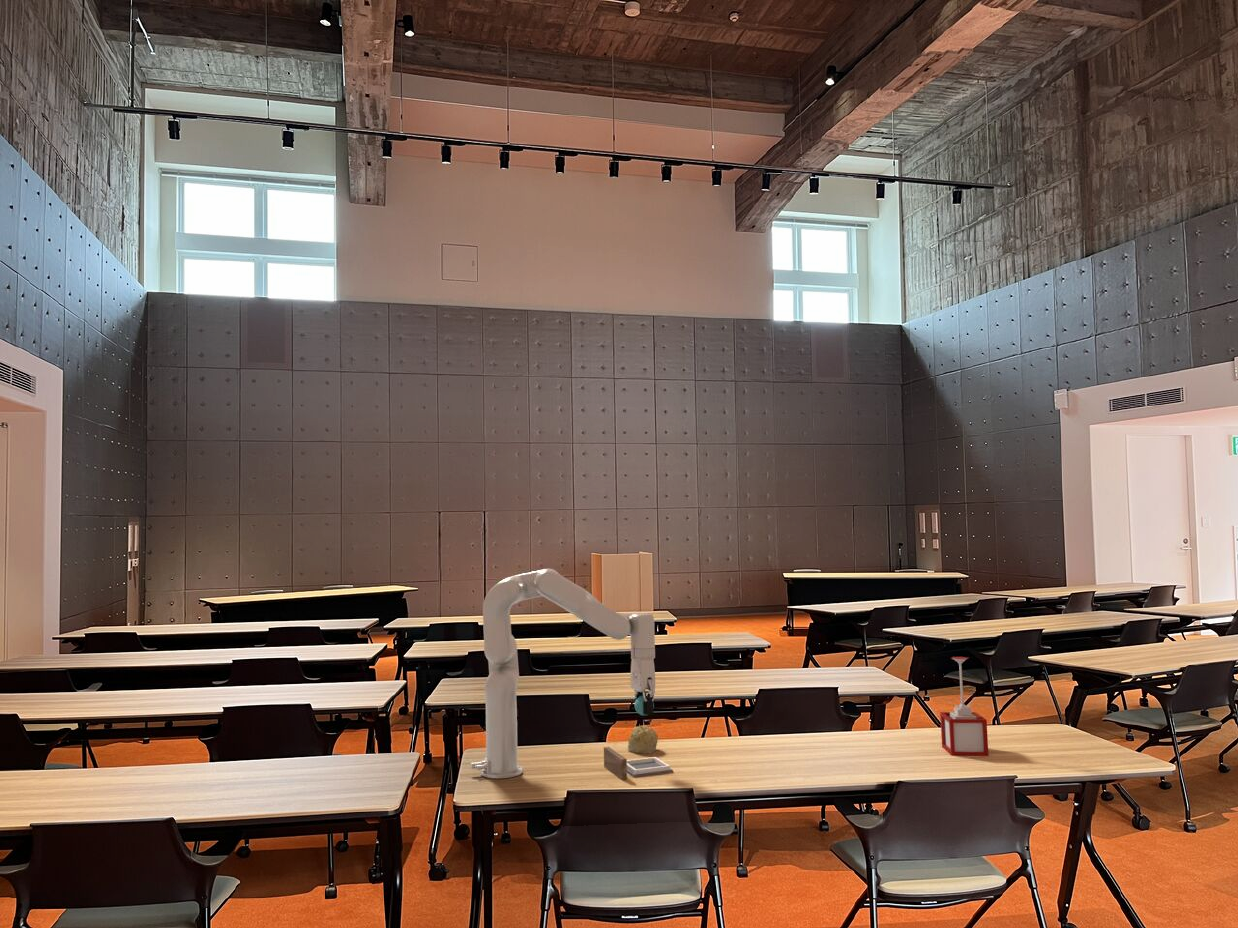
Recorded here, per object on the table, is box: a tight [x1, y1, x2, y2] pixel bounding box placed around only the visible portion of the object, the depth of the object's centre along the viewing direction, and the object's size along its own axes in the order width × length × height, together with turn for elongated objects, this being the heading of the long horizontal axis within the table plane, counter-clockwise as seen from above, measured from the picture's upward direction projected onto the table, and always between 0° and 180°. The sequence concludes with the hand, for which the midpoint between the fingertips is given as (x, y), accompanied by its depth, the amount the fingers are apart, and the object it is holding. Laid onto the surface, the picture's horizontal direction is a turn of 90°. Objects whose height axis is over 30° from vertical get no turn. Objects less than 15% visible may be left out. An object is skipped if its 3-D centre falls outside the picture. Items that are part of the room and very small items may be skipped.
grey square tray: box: [627, 756, 674, 778], centre depth 262 cm, size 13×13×2 cm
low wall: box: [603, 746, 628, 781], centre depth 258 cm, size 2×16×6 cm, turn 20°
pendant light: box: [939, 656, 990, 757], centre depth 277 cm, size 11×11×30 cm
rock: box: [627, 725, 659, 754], centre depth 285 cm, size 10×11×10 cm
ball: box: [634, 696, 655, 716], centre depth 263 cm, size 6×6×6 cm
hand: (644, 711), depth 263 cm, fingers closed on ball, 5 cm apart
